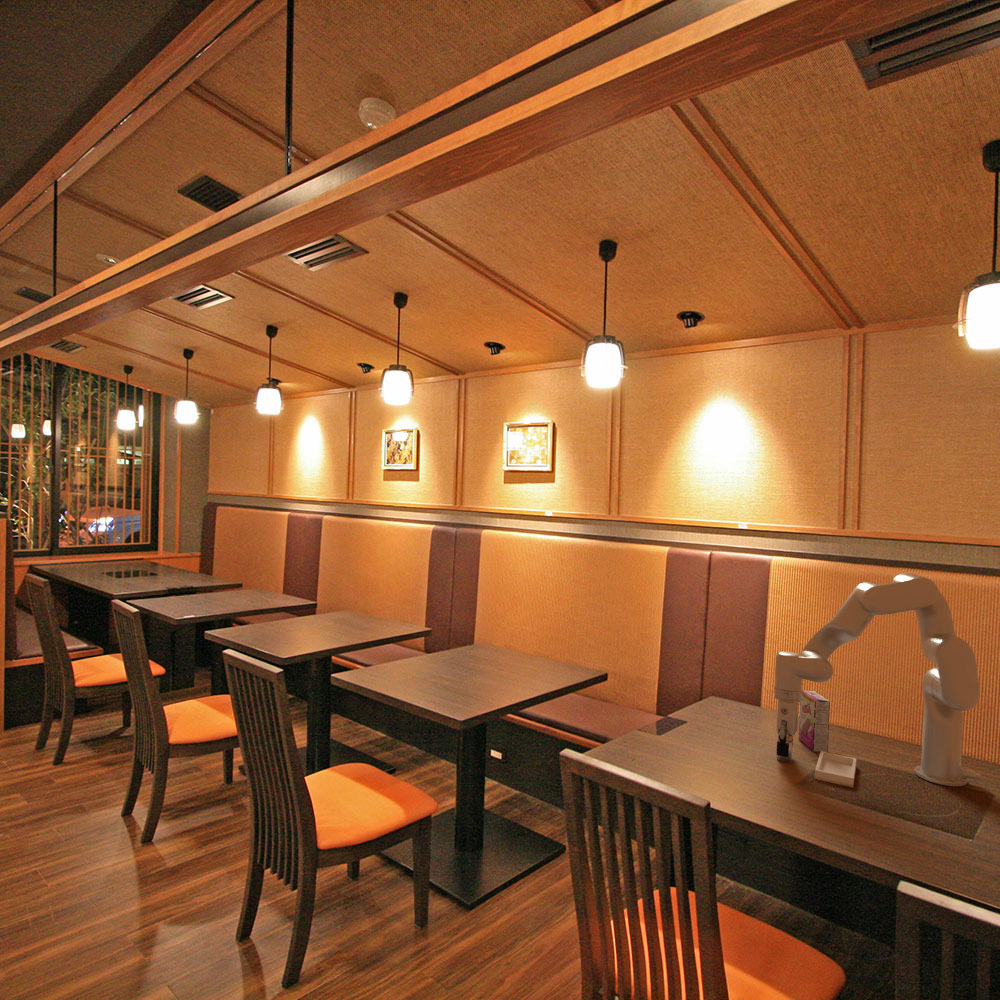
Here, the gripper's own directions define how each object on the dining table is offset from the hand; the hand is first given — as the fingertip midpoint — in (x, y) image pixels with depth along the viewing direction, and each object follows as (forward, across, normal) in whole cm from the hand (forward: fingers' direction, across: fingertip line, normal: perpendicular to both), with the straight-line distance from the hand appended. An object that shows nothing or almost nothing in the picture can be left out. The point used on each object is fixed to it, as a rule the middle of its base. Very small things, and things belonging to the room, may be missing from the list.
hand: (784, 750), depth 203 cm
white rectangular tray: (+3, -1, -14) cm, 14 cm away
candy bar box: (+3, +19, -6) cm, 20 cm away
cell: (+3, 0, 0) cm, 3 cm away
